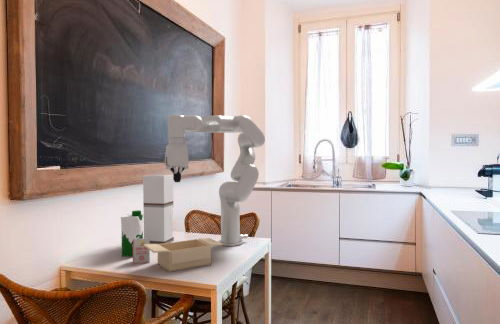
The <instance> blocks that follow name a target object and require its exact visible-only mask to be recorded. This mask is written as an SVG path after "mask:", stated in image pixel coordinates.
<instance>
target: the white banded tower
mask: <svg viewBox="0 0 500 324" xmlns="http://www.w3.org/2000/svg"><path fill="white" fill-rule="evenodd" d="M142 180H143V184H142V185H143V187H142V190H143V192H142V193H143V197H142V199H143V239H144V238H150V244H164V243H172V242H175V240H174V239H175V237H174V235H173V233H174V229H173V225H174V224H173V222H174V219H173V217H174V216H173V208H174V175H173V174H152V175H143V176H142Z"/></svg>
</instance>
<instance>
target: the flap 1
mask: <svg viewBox="0 0 500 324" xmlns="http://www.w3.org/2000/svg"><path fill="white" fill-rule="evenodd" d="M144 246H145V247H146V248H147V249H149V250H150V252H152V254H153V253H154V254H155V253H157V254H158V253H159V252H168V250H166V249H164V248H163V247H161V246H159V245H158V244H144Z"/></svg>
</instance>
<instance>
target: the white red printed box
mask: <svg viewBox="0 0 500 324" xmlns="http://www.w3.org/2000/svg"><path fill="white" fill-rule="evenodd" d="M144 244H150V238H144V237H143V239H133V257H132V264H148V262H149V263H150V261H151V251H150V250H149V249H147V248H146V247H145V246H144Z"/></svg>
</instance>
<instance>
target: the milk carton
mask: <svg viewBox="0 0 500 324" xmlns="http://www.w3.org/2000/svg"><path fill="white" fill-rule="evenodd" d="M120 223H121V225H120V227H121V257H128V258H129V257H132V258H133V239H144V213H142V210H138V209H137V210H132V211H131V213H128V214H124V215H122V216H120Z"/></svg>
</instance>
